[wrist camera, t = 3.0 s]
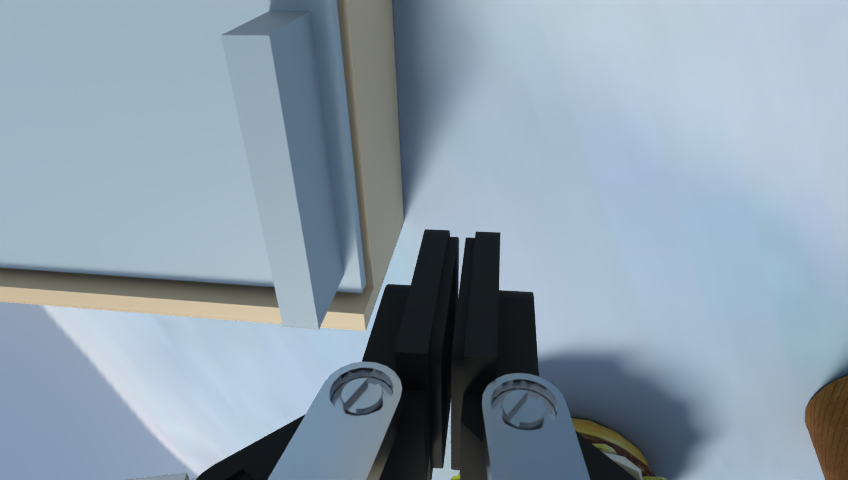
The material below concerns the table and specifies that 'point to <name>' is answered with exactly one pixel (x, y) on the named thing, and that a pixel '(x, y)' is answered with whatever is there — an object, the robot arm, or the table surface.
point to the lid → (180, 145)
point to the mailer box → (376, 195)
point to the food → (613, 449)
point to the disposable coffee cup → (830, 428)
